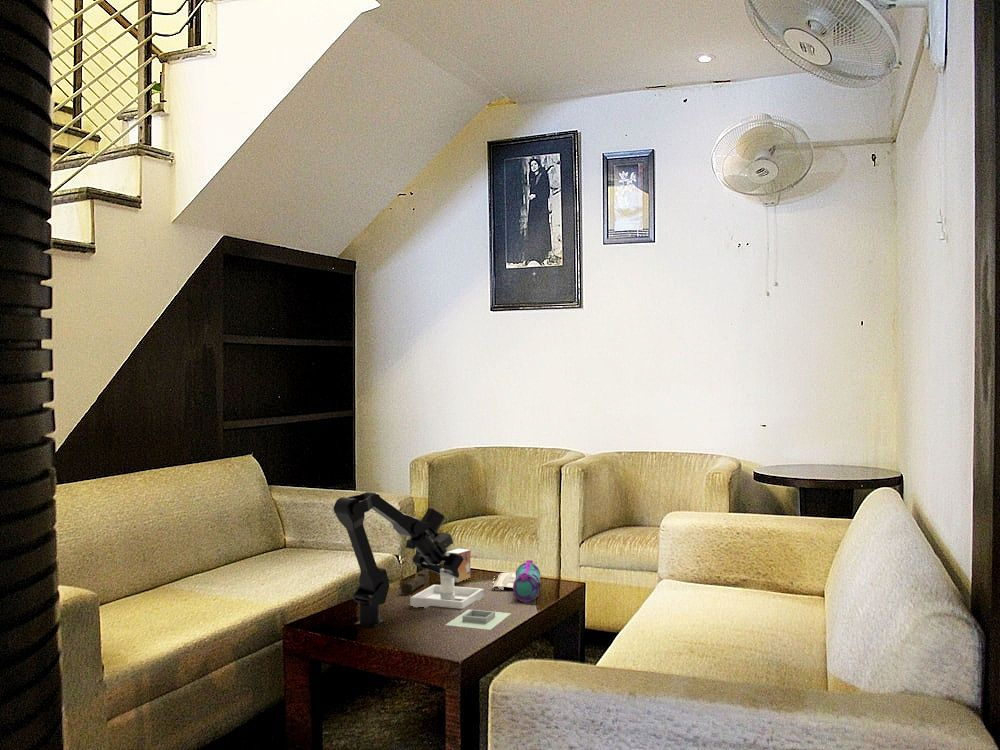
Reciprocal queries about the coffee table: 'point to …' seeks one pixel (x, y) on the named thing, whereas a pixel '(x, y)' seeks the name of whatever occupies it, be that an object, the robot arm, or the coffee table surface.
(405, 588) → the hand tool
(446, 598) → the white light bulb
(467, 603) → the parts tray
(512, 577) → the newspaper
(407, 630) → the coffee table surface
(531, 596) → the pencil case
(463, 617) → the green board with frame
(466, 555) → the small box
